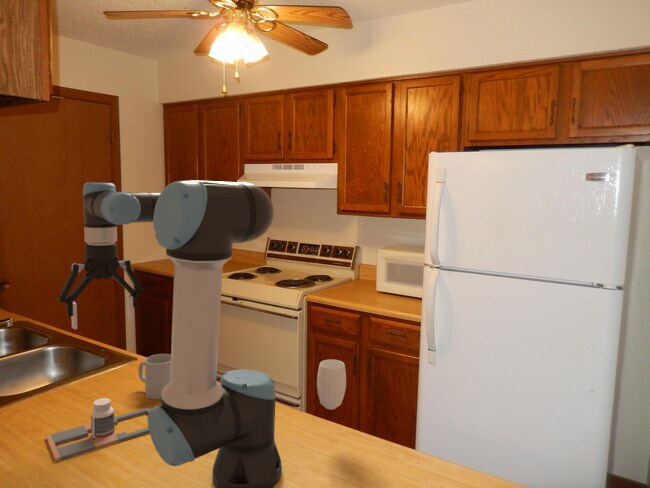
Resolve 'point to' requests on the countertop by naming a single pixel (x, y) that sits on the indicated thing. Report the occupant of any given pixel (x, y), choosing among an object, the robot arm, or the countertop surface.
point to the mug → (155, 374)
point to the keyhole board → (89, 444)
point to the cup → (331, 383)
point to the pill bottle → (102, 419)
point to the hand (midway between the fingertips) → (103, 323)
